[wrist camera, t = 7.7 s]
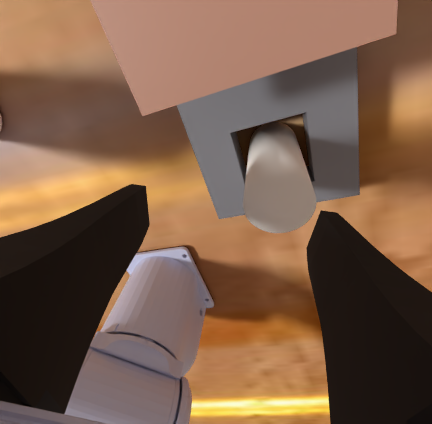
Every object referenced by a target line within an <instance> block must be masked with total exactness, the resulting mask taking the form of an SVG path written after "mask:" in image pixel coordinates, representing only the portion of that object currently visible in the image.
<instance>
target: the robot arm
mask: <svg viewBox="0 0 432 424" xmlns="http://www.w3.org/2000/svg"><path fill="white" fill-rule="evenodd" d="M149 225H150V224H149V214H148V204H147V194H146V186H141V185H134V184H131V185H128V186H126V187H124V188H122V189H120V190H118V191H116V192H114V193H112V194H110V195H108V196H106V197H104V198H102V199H100V200H98V201H96V202H94V203H92V204H90V205H88V206H85V207H83V208H81V209H79V210H77V211H74V212H72V213H70V214H68V215H66V216H63V217H61V218H58V219H56V220H53V221H51V222H48V223H45V224H42V225H39V226H37V227H34V228H31V229H28V230H24V231H21V232H18V233H14V234H11V235H8V236H4V237H1V238H0V424H189V419H190V413H191V405H192V394H191V390H190V387H189V382H188V380H187V379H186V378H185V377H183V376H184V375H185V374H186V373H187V372H188V371H189V369H190V368H191V366H192V365H193V363H194V361H195V359H196V356H197V351H198V346H199V341H200V336H201V331H202V326H203V321H204V316H205V311H206V308H212V307H214V301H213V299H212V297H211V295H210V293H209V291H208V289H207V287H206V285H205V283H204V281H203V279H202V277H201V275H200V273H199V271H198V269H197V267H196V265H195V263H194V260H193V258H192V256H191V254H190V252H189V250H188V249H187V248H186V247H175V248H168V249H162V250H155V251H148V252H141V253H137V251H138V250H139V248H140V246H141V244H142V242H143V240H144V237H145V235H146V232H147V230H148V227H149ZM184 254H185V255H184ZM307 262H308V271H309V276H310V280H311V285H312V289H313V293H314V298H315V302H316V306H317V311H318V315H319V319H320V324H321V330H322V336H323V344H324V353H325V362H326V372H327V382H328V394H329V408H330V422H331V424H432V292H431V291H429V290H428V289H426V288H425V287H424V286H422V285H421V284H419V283H418V282H417V281H415V280H414V279H413V278H411V277H410V276H409V275H407V274H406V273H405V272H403V271H402V270H401V269H400V268H398V267H397V266H396V265H395V264H393V263H392V262H391V261H390V260H389V259H387V258H386V257H385V256H384V255H383V254H382V253H380V252H379V251H378V250H377V249H376V248H375V247H374V246H373V245H371V244H370V243H369V242H368V241H367V240H366V239H365V238H364V237H363V236H362V235H361V234H360V233H359V232H358V231H356V230H355V229H354V228H353V227H352V226H351V225H350V224H349V223H348V222H347V221H346V220H345V219H344V218H343V217H341V216H340V215H339V214H338V213H335V212H328V211H321V212H320V214H319V217H318V220H317V222H316V225H315V228H314V230H313V233H312V235H311V238H310V241H309V243H308V246H307ZM126 270H127V272H128V273H129V274H130V277H129V279H128V281H127V283H126V285H125V286H124V288H123V290H122V292H121V294H120V296H119V298H118V299H117V301H116V303H115V305H114V307H113V309H112V310H111V312H110V314H109V316H108V318H107V320H106V322H105V323H104V325H103V327H102V329H101V331H97V333H96V334H95V332H96V330H97V328H98V325H99V323H100V321H101V318H102V316H103V314H104V312H105V310H106V307H107V305H108V303H109V301H110V299H111V296H112V294H113V293H114V291H115V289H116V287H117V285H118V283H119V282H120V280H121V278H122V277H123V275H124V273H125V272H126ZM94 335H95V336H94ZM93 337H94V338H93ZM92 339H93V340H92Z"/></svg>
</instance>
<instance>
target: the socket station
mask: <svg viewBox="0 0 432 424" xmlns="http://www.w3.org/2000/svg"><path fill="white" fill-rule="evenodd" d="M90 1H91V3H92V5H93V7H94V10H95V12H96V14H97V16H98V18H99V21H100V23H101V25H102V27H103V30H104V32H105V34H106V36H107V38H108V41H109V43H110V45H111V47H112V50H113V52H114V54H115V56H116V58H117V61H118V63H119V65H120V67H121V70H122V72H123V74H124V76H125V78H126V81H127V83H128V85H129V87H130V90H131V92H132V94H133V96H134V98H135V101H136V103H137V105H138V107H139V110H140V112H141V114H142V116H145V115H148V114H151V113H154V112H157V111H160V110H163V109H167V108H170V107H173V106H176V105H177V108H178V110H179V113H180V116H181V119H182V121H183V124H184V127H185V129H186V132H187V135H188V137H189V140H190V143H191V145H192V148H193V151H194V153H195V156H196V159H197V161H198V164H199V167H200V169H201V172H202V175H203V177H204V180H205V183H206V185H207V188H208V191H209V193H210V196H211V199H212V201H213V204H214V207H215V210H216V212H217V215H218V218H219V219H223V218H228V217H234V216H240V215H245V213H244V209H243V199H244V189H245V180H246V171H247V170H246V166H245V162H244V158H243V155H242V151H241V147H240V144H239V140H238V136H237V133H236V131H239V130H243V129H246V128H250V127H254V126H257V125H261V124H265V123H268V122H272V121H276V120H279V119H283V118H287V117H290V116H294V115H298V114H301V113H302V115H303V122H304V130H305V138H306V146H307V153H308V161H309V166H306V168H307V171H308V174H309V177H310V180H311V183H312V186H313V189H314V192H315V195H316V202H321V201H327V200H333V199H338V198H344V197H350V196H356V195H360V187H359V131H358V76H357V47H358V46H361V45H364V44H367V43H370V42H373V41H376V40H379V39H382V38H386V37H389V36H392V35H395V34H396V28H397V8H398V0H90Z"/></svg>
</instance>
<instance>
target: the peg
mask: <svg viewBox="0 0 432 424" xmlns="http://www.w3.org/2000/svg"><path fill="white" fill-rule="evenodd" d="M315 208H316V195H315V192H314V189H313V186H312V183H311V180H310V177H309V174H308V171H307V168H306V165H305V162H304V159H303V156H302V153H301V150H300V147H299V144H298V141H297V138H296V135H295V133H294V132H293V130H292V129H291V128H290V127H289V126H287V125H285V124H283V123H280V122H270V123H266V124H264V125H262V126H260V127H259V128H258V129H257V130H256V131H255V132H254V133H253V135H252V137H251V139H250V144H249V153H248V162H247V171H246V180H245V189H244V199H243V209H244V213H245V215H246V217H247V219H248V220H249V221H250V222H251V223H252V224H253V225H254V226H256V227H257V228H259V229H261V230H263V231H267V232H271V233H285V232H290V231H293V230H295V229H298V228H300V227H301V226H303V225H304V224H305V223H306V222H308V221H309V219H310V218H311V217H312V215H313V213H314V211H315Z"/></svg>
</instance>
